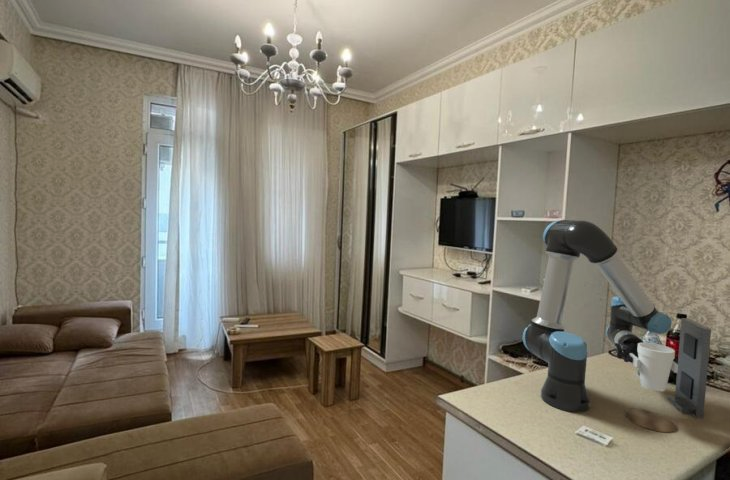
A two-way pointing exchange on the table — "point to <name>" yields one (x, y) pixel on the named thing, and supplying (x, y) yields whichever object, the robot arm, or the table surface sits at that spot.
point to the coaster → (650, 420)
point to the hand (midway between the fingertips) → (657, 366)
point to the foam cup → (655, 365)
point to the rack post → (692, 368)
